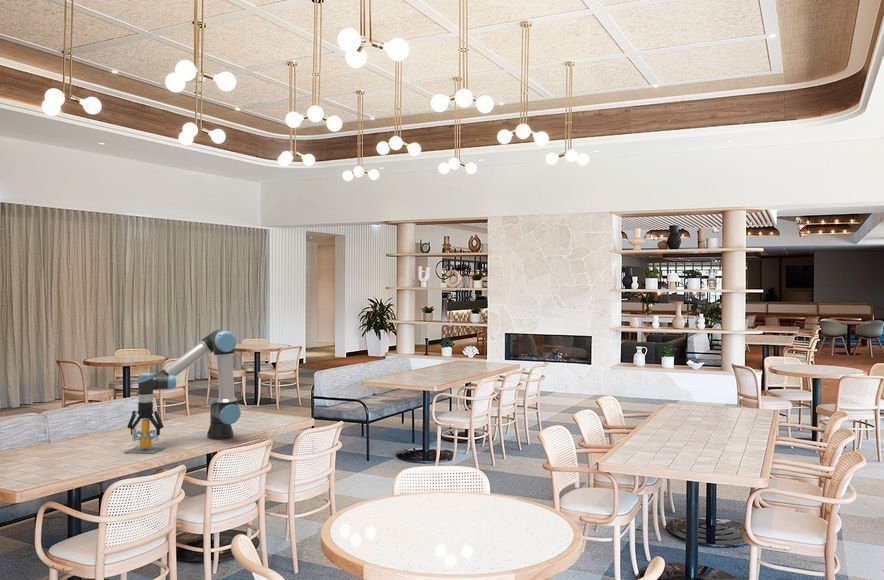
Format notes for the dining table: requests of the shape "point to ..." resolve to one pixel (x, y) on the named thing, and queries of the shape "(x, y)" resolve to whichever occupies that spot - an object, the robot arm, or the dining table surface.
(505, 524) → the dining table surface
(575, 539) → the dining table surface
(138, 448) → the card
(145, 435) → the orange hollow ringed part
